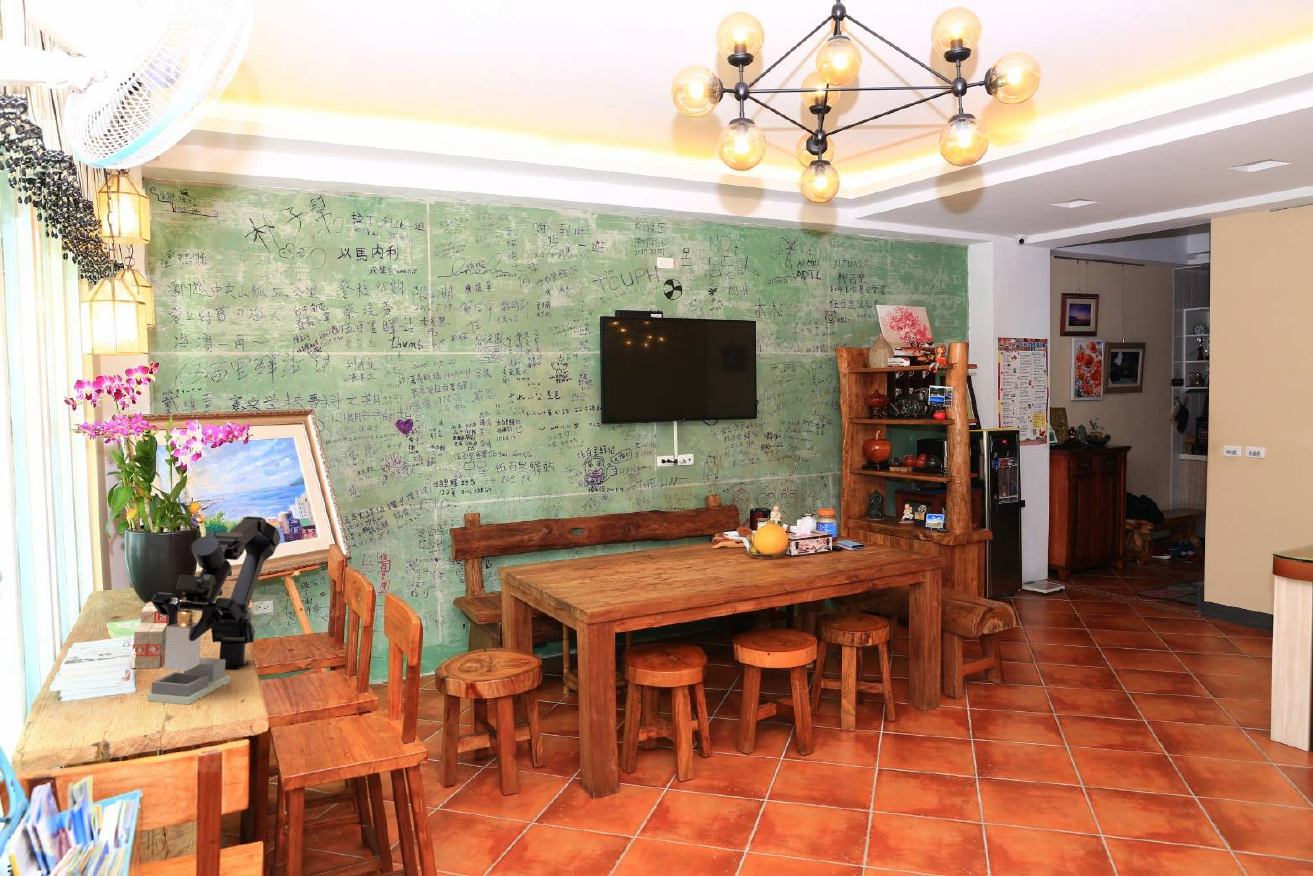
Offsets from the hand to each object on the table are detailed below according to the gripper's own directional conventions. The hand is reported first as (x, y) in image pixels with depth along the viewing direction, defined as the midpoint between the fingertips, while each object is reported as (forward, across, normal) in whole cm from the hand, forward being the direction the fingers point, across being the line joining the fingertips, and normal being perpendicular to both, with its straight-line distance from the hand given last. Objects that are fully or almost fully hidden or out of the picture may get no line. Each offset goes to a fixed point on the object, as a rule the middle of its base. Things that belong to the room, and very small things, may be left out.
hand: (179, 639), depth 197 cm
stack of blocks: (-10, -23, +30) cm, 39 cm away
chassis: (+6, 0, +13) cm, 14 cm away
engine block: (+4, 0, +6) cm, 7 cm away
